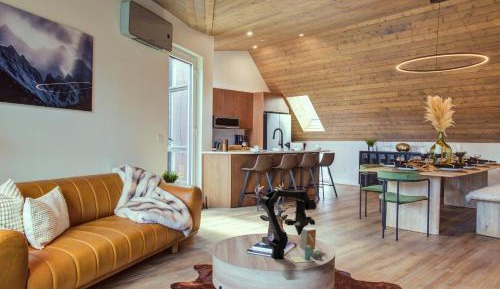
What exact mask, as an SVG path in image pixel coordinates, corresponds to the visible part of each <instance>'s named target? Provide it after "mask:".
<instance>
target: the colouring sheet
mask: <svg viewBox="0 0 500 289" xmlns="http://www.w3.org/2000/svg"><path fill="white" fill-rule="evenodd" d="M304 257H305V256H294V257H290V256H289V259H290V260H291V261H292V262H293V263H295V264H298V263H313V262H312V261H315V262H316V259H314V258H312V257H311V258H310V260H306V259H304Z"/></svg>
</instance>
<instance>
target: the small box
mask: <svg viewBox="0 0 500 289" xmlns="http://www.w3.org/2000/svg"><path fill="white" fill-rule="evenodd" d="M316 236H317V229H316V228H313V227H304V228H303V230H302V232H301V234H300V237H299V238H300V242H299V248H300V249H303V250H305V247H306V246H307V245H310V247H311V250H314V249H316Z"/></svg>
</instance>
